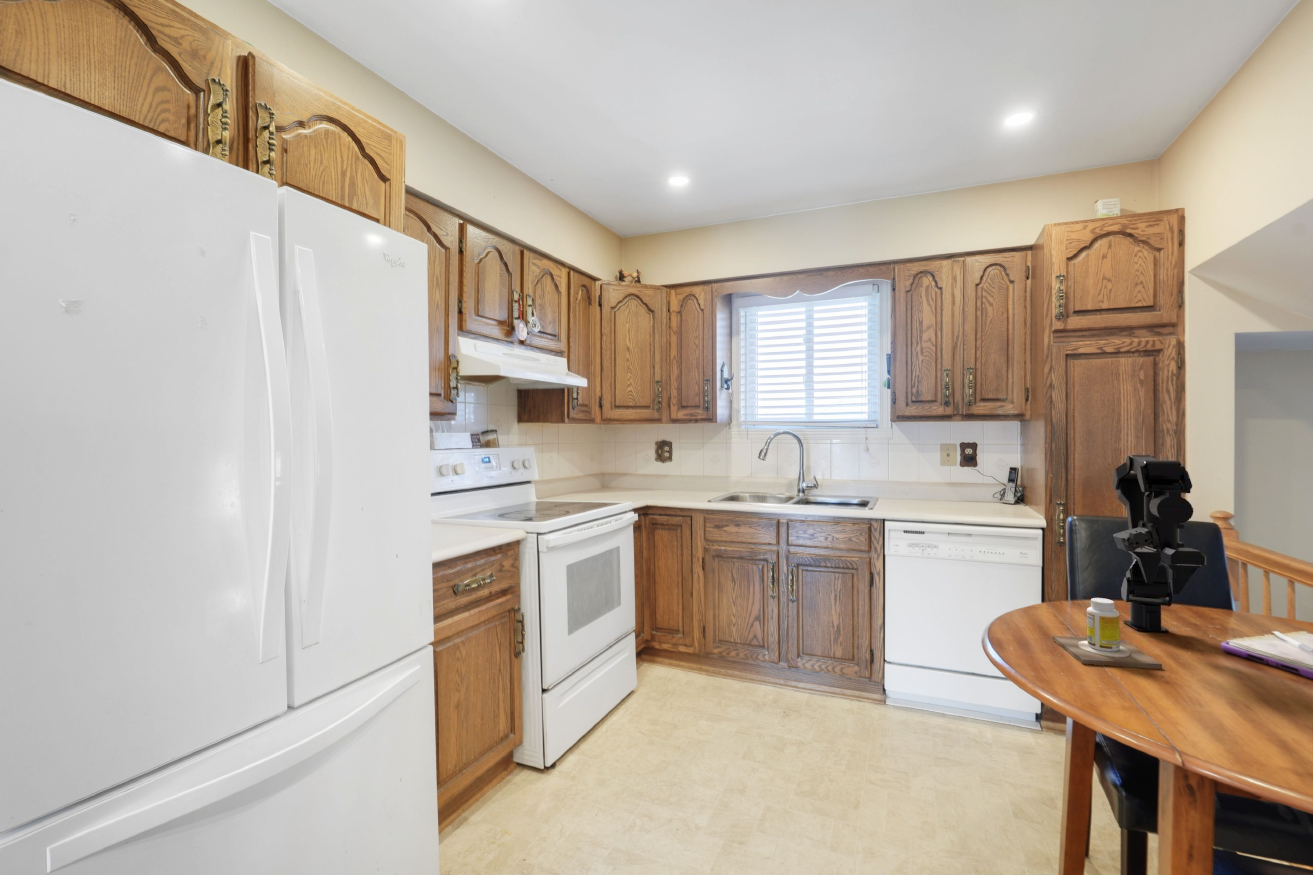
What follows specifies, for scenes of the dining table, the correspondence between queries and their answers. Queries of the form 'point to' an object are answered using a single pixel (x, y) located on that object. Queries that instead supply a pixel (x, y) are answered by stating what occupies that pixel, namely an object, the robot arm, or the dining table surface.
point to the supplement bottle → (1103, 625)
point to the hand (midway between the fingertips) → (1161, 588)
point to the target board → (1106, 654)
